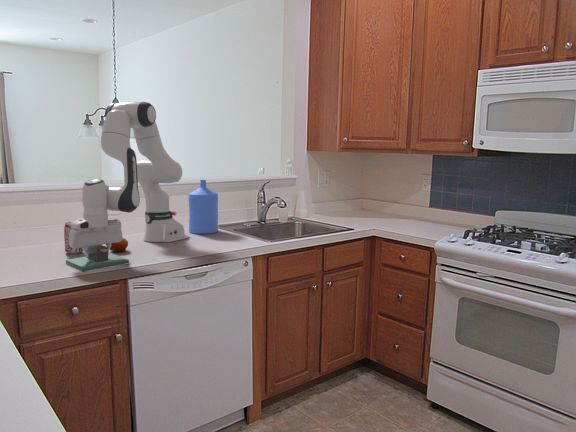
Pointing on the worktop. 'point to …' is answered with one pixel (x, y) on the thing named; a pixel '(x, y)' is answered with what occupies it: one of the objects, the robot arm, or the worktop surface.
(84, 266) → the board
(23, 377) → the worktop surface
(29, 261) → the worktop surface
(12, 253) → the worktop surface
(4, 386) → the worktop surface
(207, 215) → the water jug
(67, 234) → the soda can
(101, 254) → the block
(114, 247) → the fruit
